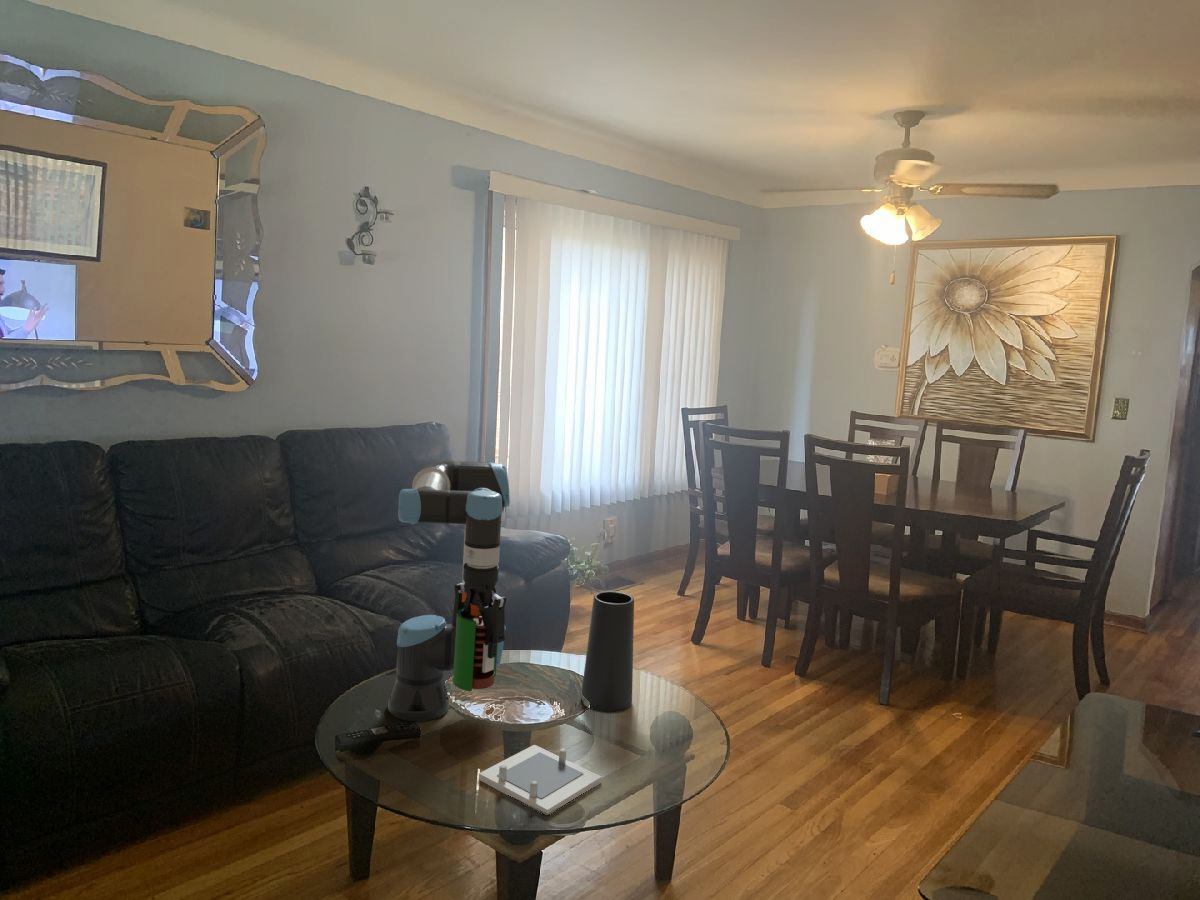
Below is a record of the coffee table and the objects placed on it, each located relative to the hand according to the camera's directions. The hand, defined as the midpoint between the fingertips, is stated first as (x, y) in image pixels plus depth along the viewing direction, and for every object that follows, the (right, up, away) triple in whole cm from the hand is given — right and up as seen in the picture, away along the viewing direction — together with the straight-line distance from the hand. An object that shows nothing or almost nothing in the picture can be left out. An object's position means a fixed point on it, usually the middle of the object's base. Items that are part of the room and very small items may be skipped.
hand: (476, 665), depth 193 cm
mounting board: (+14, -26, +2) cm, 29 cm away
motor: (-1, -4, +1) cm, 4 cm away
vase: (+29, -20, +43) cm, 56 cm away
